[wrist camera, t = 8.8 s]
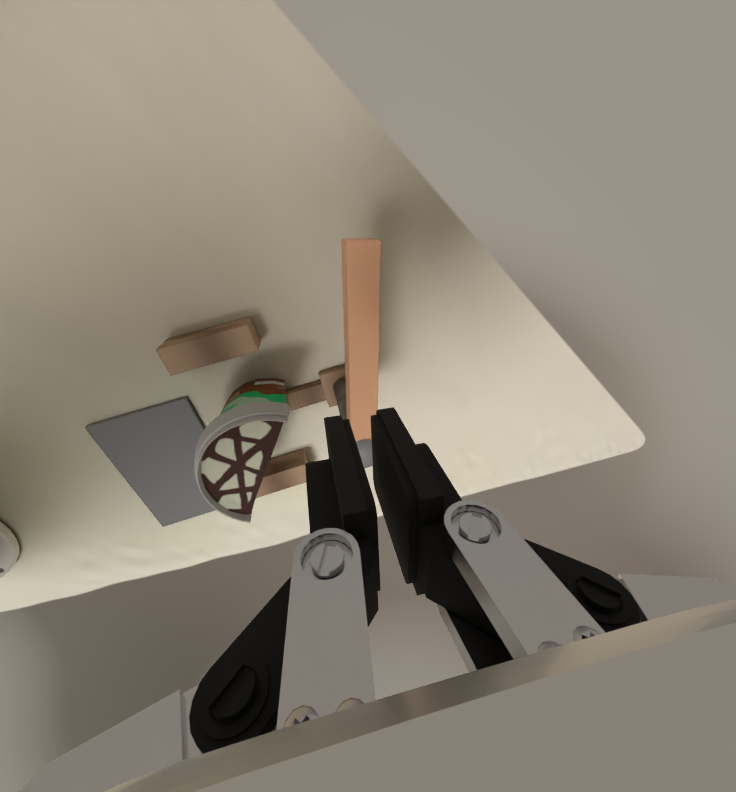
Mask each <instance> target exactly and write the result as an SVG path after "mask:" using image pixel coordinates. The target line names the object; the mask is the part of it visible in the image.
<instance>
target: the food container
mask: <svg viewBox="0 0 736 792" xmlns="http://www.w3.org/2000/svg"><path fill="white" fill-rule="evenodd" d="M288 411H289V404H286V394H285V381H284V380H279V379H274V378H271V379H257V380H254V381H251V382H248V383H245V384H243V385H242V386H241V387H239V388H238V389H237V390H235V391H234V392H233V393H232V395H231V396H230V397H229V399H228V400H227V402H226V404H225V406H224V408H223V410H222V412H221V414H220V416H218V417H217V418H216V419H214V420H213V421H212V422H211V423H210V424H209V425H208V426H207V427H206V428H205V429H204V431H203V433H202V434H201V436H200V437H199V440H198V442H197V445H196V448H195V455H194V471H195V478H196V481H197V485H198V487H199V490H200V492H201V493H202V495H203V497H204V498H205V499H206V501H207V502H208V503H209V504H210V505H211V506H212V507H213V508H214V509H216V510H217V511H219V512H220V513H222V514H223V515H226V516H228V517H230V518H232V519H235V520H239V521H242V522H248V523H250V521H251V514H252V508H253V504H254V501H255V499H256V496H257V493H258V491H259V488H260V485H261V483H262V480H263V478H264V475H265V473H266V470H267V467H268V464H269V461H270V458H271V455H272V452H273V449H274V447H275V444H276V441H277V438H278V436H279V433H280V430H281V427H282V424H283V422H286V423H287V417H288Z"/></svg>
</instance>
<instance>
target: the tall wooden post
mask: <svg viewBox="0 0 736 792" xmlns="http://www.w3.org/2000/svg"><path fill="white" fill-rule="evenodd" d="M341 241H342V275H343V308H344V342H345V376H346V410H347V419H349V421H350V424H351V428H352V431H353V434H354V437H355V440H356V444H357V447H358V450H359V453H360V456H361V460H362V463H363V466H364V468H367V467H370V466H372V465H373V459H372V439H371V415H376V411H377V409H378V359H379V309H380V259H381V240H378V239H341Z"/></svg>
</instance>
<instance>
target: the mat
mask: <svg viewBox="0 0 736 792" xmlns="http://www.w3.org/2000/svg"><path fill="white" fill-rule="evenodd" d="M85 429H86V430H87V431H88V432H89V434H90V435H91V436H92V438H93V439H94V440H95V441H96V443H97V444H98V445H99V446H100V448H101V449H102V450H103V451H104V453H105V454H106V455H107V457H108V458H109V459H110V460H111V462H112V463H113V464H114V465H115V467H116V468H117V469H118V470H119V472H120V473H121V474H122V476H123V477H124V478H125V479H126V481H127V482H128V483H129V484H130V486H131V487H132V488H133V489H134V491H135V492H136V493H137V494H138V496H139V497H140V498H141V500H142V501H143V502H144V503H145V505H146V506H147V507H148V508H149V510H150V511H151V512H152V513H153V515H154V516H155V517H156V519H157V520H158V521H159V522H160V524H161V525H162V526H163V527H164V526H167V525H170V524H173V523H176V522H179V521H182V520H186V519H189V518H192V517H195V516H198V515H201V514H205V513H208V512H211V511H214V510H216V509H214V508H213V507H212V506H211V505H210V504H209V503H208V502H207V501H206V499H205V498H204V497H203V495H202V493H201V492H200V490H199V487H198V485H197V481H196V478H195V471H194V455H195V448H196V445H197V442H198V440H199V437H200V436H201V434H202V433H203V431H204V429H205V427H204V425H203V424H202V422H201V420H200V418H199V417H198V415H197V413H196V411H195V410H194V408H193V406H192V404H191V403H190V401H189V399H188V397H183V398H180V399H176V400H173V401H169V402H166V403H162V404H159V405H156V406H152V407H149V408H145V409H142V410H138V411H135V412H131V413H128V414H124V415H121V416H117V417H114V418H110V419H107V420H103V421H100V422H97V423H93V424H90V425H87V426H86V427H85Z"/></svg>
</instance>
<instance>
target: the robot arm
mask: <svg viewBox="0 0 736 792" xmlns="http://www.w3.org/2000/svg"><path fill="white" fill-rule="evenodd" d="M324 422H325V430H326V438H327V446H328V454H329V459H327V460H321V461H315V462H309V463H305V469H306V482H307V496H308V509H309V523H310V534H309V535H308V536H307V537H306V538H304V539H303V540H302V541H301V542H300V544H299V546H298V547H297V549H296V550H295V554H294V558H293V564H292V575H291V577H290V578H289V579H288V580H287V582H286V583H285V584H284V585H283V586H282V587H281V588H280V589H279V591H278V592H277V593H276V594H275V595H274V596H273V598H272V599H271V600H270V601H269V602H268V603H267V604H266V606H265V607H264V608H263V609H262V610H261V611H260V612H259V614H258V615H257V616H256V617H255V618H254V619H253V620H252V621H251V623H250V624H249V625H248V626H247V627H246V628H245V629H244V631H243V632H242V633H241V634H240V635H239V636H238V637H237V638H236V640H235V641H234V642H233V643H232V644H231V645H230V647H229V648H228V649H227V650H226V651H225V652H224V653H223V655H222V656H221V657H220V658H219V659H218V660H217V661H216V663H215V664H214V665H213V666H212V667H211V668H210V669H209V671H208V672H207V674H206V675H205V677H204V678H203V679H202V681H201V682H200V684H199V685H197V686H196V687H194V688H192V689H190V690H189V691H187V692H185V693H183V694H182V692H181V691H180V690H178V691H176V692H175V693H173V694H171V695H169V696H167V697H165V698H164V699H162V700H160V701H158V702H157V703H155V704H153V705H151V706H149V707H148V708H146V709H144V710H142V711H140V712H139V713H137V714H135V715H134V716H132V717H130V718H128V719H126V720H125V721H123V722H121V723H119V724H117V725H115V726H114V727H112V728H110V729H109V730H107V731H105V732H103V733H101V734H99V735H98V736H96V737H94V738H92V739H91V740H89V741H87V742H85V743H83V744H82V745H80V746H78V747H76V748H75V749H73V750H71V751H69V752H67V753H65V754H64V755H62V756H60V757H58V758H57V759H55V760H54V761H53V762H51V763H50V764H49V765H47V766H46V767H44V768H43V769H42V770H40V771H39V772H38V773H37V774H36V775H35V776H34V777H33V778H32V779H31V780H30V781H29V782H28V783H27V784H26V785H25V786H24V787H23V789H22V790H21V791H20V792H736V588H735V587H733V586H731V585H728V584H726V583H724V582H721V581H719V580H715V579H710V578H704V577H703V578H702V577H682V576H659V575H657V576H656V575H637V574H619V576H618V578H613V577H612V576H611V575H609V574H607V573H605V572H603V571H601V570H599V569H597V568H595V567H592V566H590V565H587V564H585V563H582V562H580V561H577V560H575V559H573V558H570V557H567V556H565V555H563V554H560V553H558V552H555V551H553V550H550V549H548V548H545V547H543V546H541V545H538V544H536V543H533V542H531V541H528V540H526V539H523V538H522V537H521V536H520V534H519V533H518V532H517V531H516V530H515V529H514V528H513V527H512V525H511V524H510V523H509V522H508V521H507V520H506V519H505V517H504V516H503V515H502V514H501V513H500V512H498V511H497V510H496V509H495V508H494V507H491V506H490V505H488V504H486V503H483V502H480V501H476V500H463V501H462V500H461V498H460V496H459V495H458V493H457V491H456V490H455V488H454V487H453V485H452V483H451V482H450V480H449V479H448V477H447V475H446V474H445V472H444V471H443V469H442V467H441V466H440V464H439V463H438V461H437V460H436V458H435V456H434V455H433V453H432V452H431V450H430V448H429V447H428V446H427V444H425V443H422V444H416V445H415V443H414V441H413V440H412V438H411V436H410V434H409V433H408V431H407V429H406V427H405V426H404V424H403V422H402V421H401V419H400V417H399V415H398V414H397V412H396V410H395V409H394V408H387V409H380V410H377V411H376V415H371V439H372V459H373V480H374V487H375V491H376V494H377V497H378V500H379V503H380V506H381V509H382V512H383V515H384V518H385V521H386V524H387V527H388V530H389V533H390V536H391V539H392V543H393V545H394V549H395V552H396V555H397V558H398V560H399V564H400V567H401V570H402V573H403V576H404V579H405V582H406V583H407V584H409V583H413V585H414V588H415V590H416V593H417V595H420V594H425V595H426V597H427V598H428V599H430V600H432V601H433V602H435V603H437V606H438V609H439V612H440V615H441V617H442V619H443V621H444V623H445V625H446V627H447V629H448V631H449V633H450V635H451V637H452V639H453V641H454V643H455V645H456V647H457V649H458V651H459V653H460V655H461V657H462V659H463V661H464V663H465V665H466V667H467V669H468V671H469V673H466V674H463V675H459V676H456V677H453V678H449V679H446V680H443V681H439V682H436V683H432V684H429V685H426V686H423V687H419V688H416V689H412V690H409V691H406V692H402V693H399V694H395V695H392V696H389V697H385V698H382V699H379V700H375V694H374V683H373V673H372V663H371V654H370V644H369V635H368V626H369V625H370V623H371V621H372V620H373V618H374V616H375V614H376V613H377V611H378V593H377V591H379V590H380V573H379V572H380V571H379V550H378V526H377V512H376V506H375V502H374V498H373V495H372V492H371V488H370V485H369V482H368V479H367V476H366V472H365V469H364V466H363V463H362V460H361V456H360V453H359V450H358V447H357V444H356V440H355V437H354V434H353V431H352V428H351V424H350V421H349V419H344V420H343V419H342V416H341V415H340V416H333V417H326V418H324ZM18 556H19V544H18V541H17V539H16V537H15V536H14V534H13V533H12V531H11V530H9V529H8V528H7V527H6V526H5V525H4V524H3V523H1V522H0V578H1V577H3V576H4V575H5V574H6V573H7V572H8V571H9V570H10V569H11V568H12V566H13V565H14V564H15V562H16V561H17V559H18Z"/></svg>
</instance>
